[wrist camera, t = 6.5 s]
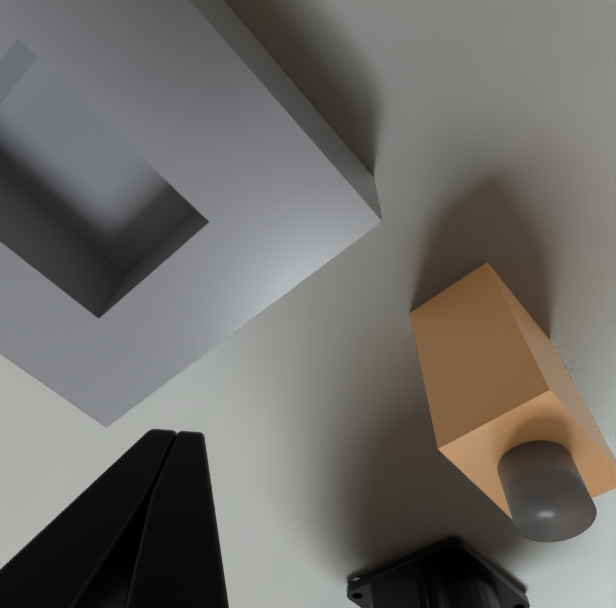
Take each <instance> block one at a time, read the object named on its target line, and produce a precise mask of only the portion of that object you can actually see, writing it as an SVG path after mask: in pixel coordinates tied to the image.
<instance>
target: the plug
mask: <svg viewBox="0 0 616 608" xmlns="http://www.w3.org/2000/svg"><path fill="white" fill-rule="evenodd" d="M409 314H410V319H411V324H412V328H413V333H414V338H415V342H416V347H417V352H418V357H419V361H420V366H421V371H422V376H423V380H424V385H425V390H426V395H427V399H428V404H429V409H430V414H431V418H432V423H433V428H434V433H435V437H436V442H437V447H438V450H440V451H441V452H442V453H443V454H444V455H445V456H446V457H447V458H448V459H449V460H450V461H451V462H452V463H453V464H454V465H455V466H456V467H457V468H458V469H460V470H461V471H462V472H463V473H464V474H465V475H466V476H467V477H468V478H469V479H470V480H471V481H472V482H473V483H474V484H475V485H476V486H477V487H479V488H480V489H481V490H482V491H483V492H484V493H485V494H486V495H487V496H488V497H489V498H490V499H491V500H492V501H493V502H494V503H495V504H496V505H497V506H499V507H500V508H501V509H502V510H503V511H504V512H505V513H506V514H507V515H508V516H509V517H510V518H511V519H512V520H513V523H514V526H515V528H516V530H517V531H518V533H519V534H521V535H522V536H524V537H525V538H528V539H530V540H533V541H538V542H557V541H563V540H567V539H570V538H573V537H575V536H577V535H579V534H581V533H583V532H584V531H585V530H587V529H588V528H589V527H590V526H591V525H592V523H593V522H594V520H595V518H596V513H597V511H596V507H595V505H594V503H593V501H592V498H593V497H596V496H598V495H600V494H602V493H605V492H607V491H609V490H612V489H614V488H616V459H615V457H614V455H613V454H612V452H611V450H610V448H609V446H608V445H607V443H606V441H605V439H604V437H603V435H602V434H601V432H600V430H599V428H598V426H597V425H596V423H595V421H594V419H593V417H592V415H591V414H590V412H589V410H588V408H587V406H586V405H585V403H584V401H583V399H582V397H581V395H580V394H579V392H578V390H577V388H576V386H575V385H574V383H573V381H572V379H571V377H570V375H569V374H568V372H567V370H566V368H565V366H564V365H563V363H562V361H561V359H560V357H559V356H558V354H557V352H556V350H555V348H554V346H553V345H552V343H551V341H550V340H549V338H548V337H547V336H546V335H545V333H544V332H543V331H542V330H541V328H540V327H539V326H538V325H537V323H536V322H535V321H534V320H533V318H532V317H531V316H530V315H529V313H528V312H527V311H526V310H525V308H524V307H523V306H522V305H521V303H520V302H519V301H518V300H517V298H516V297H515V296H514V295H513V293H512V292H511V291H510V290H509V288H508V287H507V286H506V285H505V283H504V282H503V281H502V280H501V278H500V277H499V276H498V275H497V273H496V272H495V271H494V270H493V268H492V267H491V266H490V265H489V263H488V262H486V263H485V264H483V265H482V266H480V267H479V268H477V269H476V270H474V271H473V272H471V273H470V274H468V275H467V276H465V277H464V278H462V279H460V280H459V281H457V282H456V283H454V284H453V285H451V286H450V287H448V288H447V289H445V290H444V291H442V292H441V293H439V294H438V295H436V296H435V297H433V298H431V299H430V300H428V301H427V302H425V303H424V304H422V305H421V306H419V307H418V308H416V309H415V310H413V311H412V312H410V313H409Z"/></svg>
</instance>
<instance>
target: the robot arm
mask: <svg viewBox="0 0 616 608" xmlns="http://www.w3.org/2000/svg"><path fill="white" fill-rule="evenodd" d="M347 597H348V599H349V600H351V601H352V602H354V603H355V604H357V605H358V606H360V607H361V608H529V607H530V605H529V601H528V598H527V596H526V595H525V594H524V593H523V592H522V591H521V590H519V589H518V588H517V587H516V586H515V585H514V584H513V583H511V582H510V581H509V580H508V579H507V578H506V577H504V576H503V575H502V574H501V573H500V572H499V571H498V570H496V569H495V568H494V567H493V566H492V565H491V564H489V563H488V562H487V561H486V560H485V559H484V558H482V557H481V556H480V555H479V554H478V553H477V552H476V551H474V550H473V549H472V548H471V547H470V546H469V545H467V544H466V543H465V542H464V541H463V540H461V539H458V538H450V539H447V540H445V541H442V542H440V543H438V544H436V545H434V546H431V547H429V548H427V549H425V550H423V551H420V552H418V553H416V554H414V555H412V556H409V557H407V558H405V559H403V560H400V561H398V562H396V563H394V564H392V565H389V566H387V567H385V568H383V569H381V570H378V571H376V572H374V573H372V574H370V575H367V576H365V577H363V578H361V579H359V580H356V581H354V582H352V583H350V584H349V585H348V586H347ZM0 608H229V605H228V598H227V591H226V584H225V577H224V570H223V563H222V556H221V549H220V542H219V535H218V528H217V521H216V514H215V507H214V500H213V493H212V486H211V479H210V472H209V465H208V458H207V451H206V444H205V437H204V434H203V433H201V432H190V431H180V432H179V433H178V434H177V432H175V431H173V430H161V429H152V430H150V431H148V432H147V433H146V434H145V435H144V436H143V437H141V438H140V439H139V440H138V441H137V442H136V443H135V444H134V445H133V446H132V447H131V448H130V449H129V450H128V451H127V452H125V453H124V454H123V455H122V456H121V457H120V458H119V459H118V460H117V461H116V462H115V463H114V464H113V465H112V466H110V467H109V468H108V469H107V470H106V471H105V472H104V473H103V474H102V475H101V476H100V477H99V478H98V479H97V480H95V481H94V482H93V483H92V484H91V485H90V486H89V487H88V488H87V489H86V490H85V491H84V492H83V493H82V494H80V495H79V496H78V497H77V498H76V499H75V500H74V501H73V502H72V503H71V504H70V505H69V506H68V507H67V508H65V509H64V510H63V511H62V512H61V513H60V514H59V515H58V516H57V517H56V518H55V519H54V520H53V521H52V522H50V523H49V524H48V525H47V526H46V527H45V528H44V529H43V530H42V531H41V532H40V533H39V534H38V535H37V536H35V537H34V538H33V539H32V540H31V541H30V542H29V543H28V544H27V545H26V546H25V547H24V548H23V549H22V550H20V551H19V552H18V553H17V554H16V555H15V556H14V557H13V558H12V559H11V560H10V561H9V562H8V563H7V564H5V565H4V566H3V567H2V568H1V569H0Z"/></svg>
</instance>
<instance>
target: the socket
mask: <svg viewBox="0 0 616 608" xmlns="http://www.w3.org/2000/svg"><path fill="white" fill-rule="evenodd" d="M381 222H382V217H381V212H380V206H379V201H378V196H377V190H376V185H375V180H374V177H373V176H372V175H371V174H370V172H369V171H368V170H367V169H366V168H365V166H364V165H363V164H362V163H361V162H360V161H359V159H358V158H357V157H356V156H355V155H354V153H353V152H352V151H351V150H350V149H349V147H348V146H347V145H346V144H345V143H344V142H343V140H342V139H341V138H340V137H339V136H338V134H337V133H336V132H335V131H334V130H333V128H332V127H331V126H330V125H329V124H328V123H327V121H326V120H325V119H324V118H323V117H322V115H321V114H320V113H319V112H318V111H317V109H316V108H315V107H314V106H313V105H312V104H311V102H310V101H309V100H308V99H307V98H306V96H305V95H304V94H303V93H302V92H301V91H300V89H299V88H298V87H297V86H296V85H295V83H294V82H293V81H292V80H291V79H290V77H289V76H288V75H287V74H286V73H285V72H284V70H283V69H282V68H281V67H280V66H279V64H278V63H277V62H276V61H275V60H274V58H273V57H272V56H271V55H270V54H269V53H268V51H267V50H266V49H265V48H264V47H263V45H262V44H261V43H260V42H259V41H258V39H257V38H256V37H255V36H254V35H253V34H252V32H251V31H250V30H249V29H248V28H247V26H246V25H245V24H244V23H243V22H242V21H241V19H240V18H239V17H238V16H237V15H236V13H235V12H234V11H233V10H232V9H231V7H230V6H229V5H228V4H227V3H226V2H225V0H0V354H1V355H3V356H4V357H5V358H7V359H8V360H10V361H11V362H13V363H14V364H15V365H17V366H18V367H20V368H21V369H23V370H24V371H26V372H27V373H28V374H30V375H31V376H33V377H34V378H36V379H37V380H38V381H40V382H41V383H43V384H44V385H46V386H47V387H49V388H50V389H51V390H53V391H54V392H56V393H57V394H59V395H60V396H61V397H63V398H64V399H66V400H67V401H69V402H70V403H72V404H73V405H74V406H76V407H77V408H79V409H80V410H82V411H83V412H84V413H86V414H87V415H89V416H90V417H92V418H93V419H95V420H96V421H97V422H99V423H100V424H102V425H103V426H105V427H108V426H109V425H110V424H112V423H113V422H114V421H116V420H117V419H118V418H120V417H121V416H122V415H124V414H125V413H126V412H128V411H129V410H130V409H132V408H133V407H134V406H136V405H137V404H138V403H140V402H141V401H143V400H144V399H145V398H147V397H148V396H149V395H151V394H152V393H153V392H155V391H156V390H157V389H159V388H160V387H161V386H163V385H164V384H165V383H167V382H168V381H169V380H171V379H172V378H173V377H175V376H176V375H177V374H179V373H180V372H181V371H183V370H184V369H185V368H187V367H188V366H189V365H191V364H192V363H193V362H195V361H196V360H197V359H199V358H200V357H201V356H203V355H204V354H205V353H207V352H208V351H209V350H211V349H212V348H213V347H215V346H216V345H217V344H219V343H220V342H221V341H223V340H224V339H225V338H227V337H228V336H229V335H231V334H232V333H233V332H235V331H236V330H238V329H239V328H240V327H242V326H243V325H244V324H246V323H247V322H248V321H250V320H251V319H252V318H254V317H255V316H256V315H258V314H259V313H260V312H262V311H263V310H264V309H266V308H267V307H268V306H270V305H271V304H272V303H274V302H275V301H276V300H278V299H279V298H280V297H282V296H283V295H284V294H286V293H287V292H288V291H290V290H291V289H292V288H294V287H295V286H296V285H298V284H299V283H300V282H302V281H303V280H304V279H306V278H307V277H308V276H310V275H311V274H312V273H314V272H315V271H316V270H318V269H319V268H320V267H322V266H323V265H324V264H326V263H327V262H328V261H330V260H331V259H333V258H334V257H335V256H337V255H338V254H339V253H341V252H342V251H343V250H345V249H346V248H347V247H349V246H350V245H351V244H353V243H354V242H355V241H357V240H358V239H359V238H361V237H362V236H363V235H365V234H366V233H367V232H369V231H370V230H371V229H373V228H374V227H375V226H377V225H378V224H379V223H381Z"/></svg>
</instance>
